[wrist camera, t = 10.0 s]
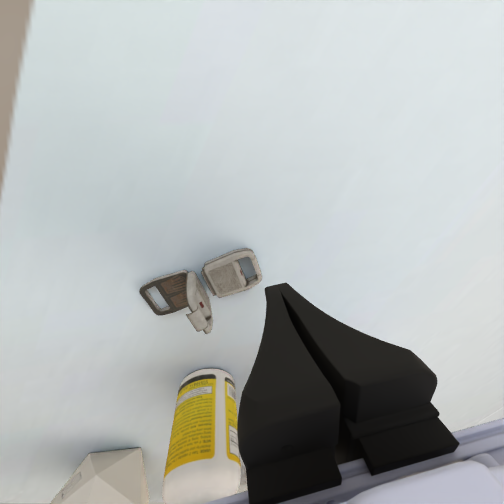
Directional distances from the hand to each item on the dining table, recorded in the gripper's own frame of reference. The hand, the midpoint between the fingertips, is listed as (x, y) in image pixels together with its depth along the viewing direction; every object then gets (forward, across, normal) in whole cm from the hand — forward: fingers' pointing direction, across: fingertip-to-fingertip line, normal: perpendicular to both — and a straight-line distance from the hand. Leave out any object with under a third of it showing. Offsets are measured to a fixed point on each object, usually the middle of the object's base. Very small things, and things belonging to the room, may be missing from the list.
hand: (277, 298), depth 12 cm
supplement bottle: (+4, +8, +12) cm, 15 cm away
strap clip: (+4, +5, 0) cm, 6 cm away
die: (+4, +20, +21) cm, 30 cm away
